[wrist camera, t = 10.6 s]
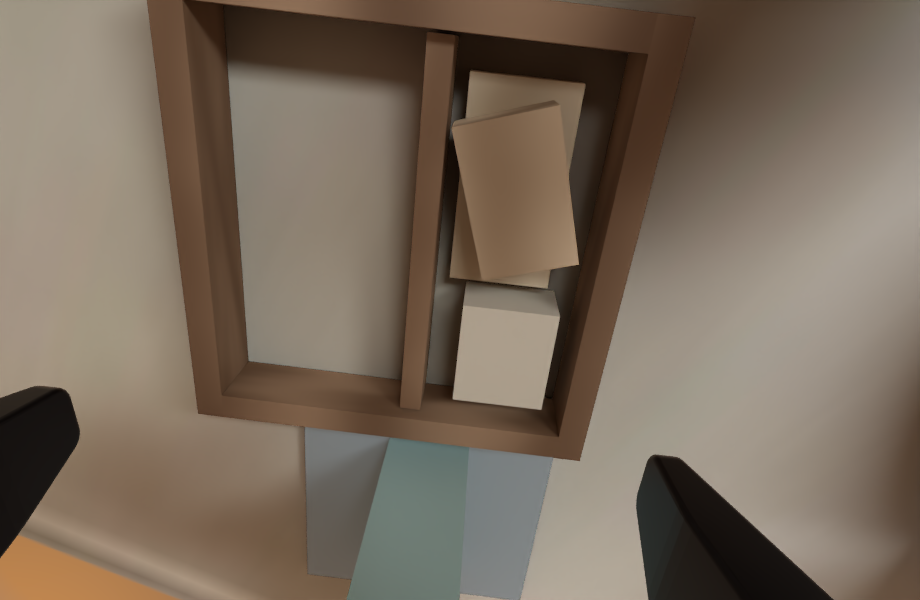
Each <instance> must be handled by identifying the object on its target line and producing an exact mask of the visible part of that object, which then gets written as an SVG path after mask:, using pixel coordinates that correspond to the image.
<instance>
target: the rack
mask: <svg viewBox="0 0 920 600" xmlns="http://www.w3.org/2000/svg"><path fill="white" fill-rule="evenodd" d="M147 4H148V12H149V20H150V28H151V36H152V44H153V52H154V61H155V69H156V77H157V85H158V93H159V101H160V109H161V117H162V125H163V133H164V141H165V149H166V157H167V165H168V173H169V182H170V190H171V198H172V206H173V214H174V222H175V230H176V238H177V246H178V254H179V262H180V270H181V278H182V286H183V294H184V303H185V311H186V319H187V327H188V335H189V343H190V351H191V359H192V367H193V375H194V383H195V391H196V399H197V407H198V414H205V415H213V416H221V417H229V418H238V419H246V420H254V421H262V422H270V423H278V424H286V425H294V426H302V427H310V428H318V429H326V430H334V431H342V432H350V433H358V434H367V435H375V436H383V437H391V438H399V439H407V440H415V441H423V442H431V443H439V444H447V445H455V446H463V447H471V448H479V449H487V450H495V451H504V452H512V453H520V454H528V455H536V456H544V457H552V458H560V459H568V460H576V461H580V457H581V453H582V450H583V446H584V442H585V438H586V434H587V431H588V427H589V423H590V419H591V415H592V411H593V408H594V404H595V400H596V396H597V392H598V388H599V385H600V381H601V377H602V373H603V369H604V365H605V362H606V358H607V354H608V350H609V346H610V343H611V339H612V335H613V331H614V327H615V323H616V320H617V316H618V312H619V308H620V304H621V300H622V297H623V293H624V289H625V285H626V281H627V277H628V274H629V270H630V266H631V262H632V258H633V255H634V251H635V247H636V243H637V239H638V235H639V232H640V228H641V224H642V220H643V216H644V212H645V209H646V205H647V201H648V197H649V193H650V189H651V186H652V182H653V178H654V174H655V170H656V167H657V163H658V159H659V155H660V151H661V147H662V144H663V140H664V136H665V132H666V128H667V124H668V121H669V117H670V113H671V109H672V105H673V101H674V98H675V94H676V90H677V86H678V82H679V79H680V75H681V71H682V67H683V63H684V59H685V56H686V52H687V48H688V44H689V40H690V36H691V33H692V29H693V25H694V21H695V17H687V16H678V15H670V14H662V13H653V12H645V11H636V10H628V9H619V8H611V7H602V6H594V5H586V4H577V3H569V2H560V1H552V0H147ZM223 5H230V6H239V7H247V8H255V9H264V10H272V11H281V12H289V13H298V14H306V15H314V16H323V17H331V18H340V19H348V20H356V21H365V22H373V23H382V24H390V25H398V26H407V27H415V28H424V29H432V30H441V31H449V32H457V33H466V34H474V35H483V36H491V37H499V38H508V39H516V40H525V41H533V42H541V43H550V44H558V45H567V46H575V47H584V48H592V49H600V50H609V51H617V52H626V53H628V57H627V62H626V66H625V71H624V75H623V80H622V84H621V89H620V94H619V98H618V103H617V107H616V112H615V116H614V121H613V125H612V130H611V135H610V139H609V144H608V148H607V153H606V157H605V162H604V166H603V171H602V176H601V180H600V185H599V189H598V194H597V198H596V203H595V207H594V212H593V217H592V221H591V226H590V230H589V235H588V239H587V244H586V248H585V253H584V258H583V262H582V267H581V271H580V276H579V280H578V285H577V289H576V294H575V298H574V303H573V308H572V312H571V317H570V321H569V326H568V330H567V335H566V339H565V344H564V349H563V353H562V358H561V362H560V367H559V371H558V376H557V380H556V385H555V390H554V394H553V399H549V398H544V399H543V404H542V409H541V410H538V409H529V408H521V407H513V406H504V405H496V404H487V403H479V402H471V401H462V400H454V399H453V391H454V387H452V386H444V385H436V384H428V383H426V376H427V366H428V356H429V345H430V335H431V324H432V314H433V303H434V293H435V283H436V272H437V262H438V251H439V241H440V231H441V220H442V210H443V199H444V189H445V178H446V168H447V158H448V147H449V137H450V126H451V116H452V105H453V95H454V85H455V74H456V64H457V53H458V43H459V36H456V35H450V34H441V33H433V32H427V41H426V55H425V68H424V82H423V96H422V109H421V123H420V137H419V151H418V164H417V178H416V192H415V206H414V219H413V233H412V247H411V260H410V274H409V288H408V302H407V315H406V329H405V343H404V357H403V370H402V380H395V379H387V378H379V377H371V376H363V375H355V374H347V373H339V372H330V371H322V370H314V369H306V368H298V367H290V366H282V365H274V364H266V363H257V362H249V361H248V350H247V336H246V322H245V308H244V294H243V280H242V266H241V252H240V238H239V224H238V210H237V196H236V182H235V168H234V154H233V140H232V126H231V111H230V97H229V83H228V69H227V55H226V41H225V27H224V13H223Z"/></svg>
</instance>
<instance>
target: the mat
mask: <svg viewBox="0 0 920 600" xmlns="http://www.w3.org/2000/svg"><path fill="white" fill-rule="evenodd" d="M389 439H390V437H383V436H375V435H367V434H358V433H350V432H342V431H334V430H326V429H318V428H310V427H305V467H306V517H307V567H308V574H311V575H319V576H327V577H335V578H342V579H350V580H352V577H353V574H354V570H355V566H356V562H357V559H358V555H359V551H360V547H361V544H362V540H363V536H364V532H365V529H366V525H367V521H368V517H369V514H370V510H371V506H372V503H373V499H374V495H375V491H376V488H377V484H378V480H379V476H380V473H381V469H382V465H383V461H384V458H385V454H386V450H387V446H388V443H389ZM552 461H553V458H552V457H544V456H536V455H528V454H520V453H512V452H504V451H495V450H487V449H479V448H471V447H469V456H468V472H467V488H466V503H465V519H464V535H463V550H462V566H461V582H460V593H462V594H470V595H477V596H485V597H493V598H501V599H509V600H520V598H521V594H522V589H523V585H524V581H525V576H526V572H527V568H528V564H529V559H530V555H531V551H532V546H533V542H534V538H535V534H536V529H537V525H538V521H539V517H540V512H541V508H542V504H543V499H544V495H545V491H546V487H547V482H548V478H549V474H550V469H551V465H552Z"/></svg>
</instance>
